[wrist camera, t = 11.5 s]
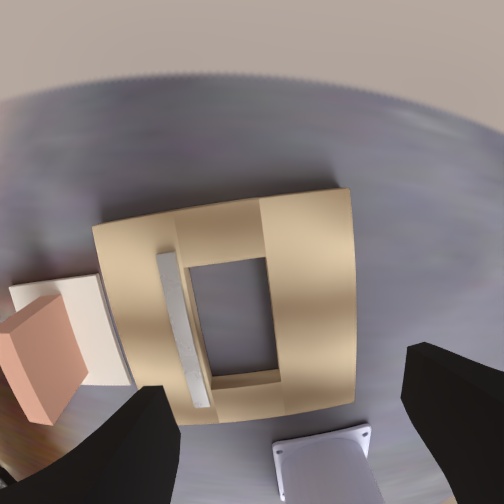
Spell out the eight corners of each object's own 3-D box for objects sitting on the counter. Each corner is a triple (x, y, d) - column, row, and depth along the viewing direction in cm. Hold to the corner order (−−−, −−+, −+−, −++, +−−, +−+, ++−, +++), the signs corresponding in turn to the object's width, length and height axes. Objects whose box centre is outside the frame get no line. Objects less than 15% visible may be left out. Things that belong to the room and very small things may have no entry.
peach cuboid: (88, 372, 19) (53, 425, 13) (67, 372, 19) (29, 421, 13) (61, 294, 18) (9, 333, 12) (40, 296, 18) (-13, 333, 12)
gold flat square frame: (348, 389, 20) (356, 406, 18) (157, 412, 20) (151, 430, 18) (340, 187, 17) (352, 188, 15) (102, 222, 17) (87, 228, 15)
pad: (132, 381, 20) (130, 385, 19) (47, 379, 20) (44, 382, 19) (98, 273, 18) (95, 275, 17) (12, 285, 18) (8, 287, 17)
